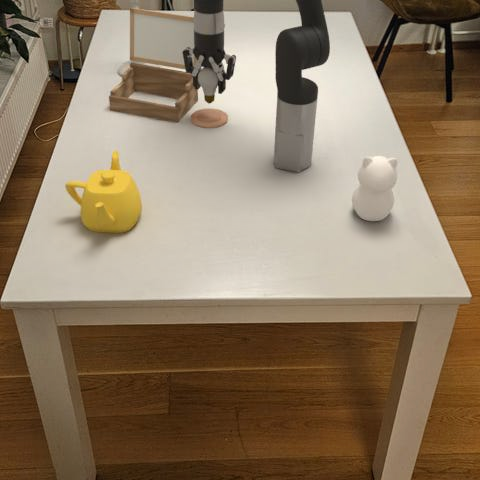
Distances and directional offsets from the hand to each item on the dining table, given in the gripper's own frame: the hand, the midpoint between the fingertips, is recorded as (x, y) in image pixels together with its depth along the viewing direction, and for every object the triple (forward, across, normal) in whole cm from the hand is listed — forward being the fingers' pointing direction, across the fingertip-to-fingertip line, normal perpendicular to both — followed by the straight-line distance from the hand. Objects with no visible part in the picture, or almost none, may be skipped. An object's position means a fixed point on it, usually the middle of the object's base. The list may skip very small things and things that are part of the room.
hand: (209, 90), depth 183 cm
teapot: (+8, -4, -50) cm, 51 cm away
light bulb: (+4, 0, 0) cm, 4 cm away
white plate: (+9, -31, +21) cm, 38 cm away
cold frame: (+8, -17, +2) cm, 19 cm away
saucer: (+8, 0, 0) cm, 8 cm away
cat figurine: (+8, +49, -27) cm, 57 cm away
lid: (-7, -17, +10) cm, 21 cm away
